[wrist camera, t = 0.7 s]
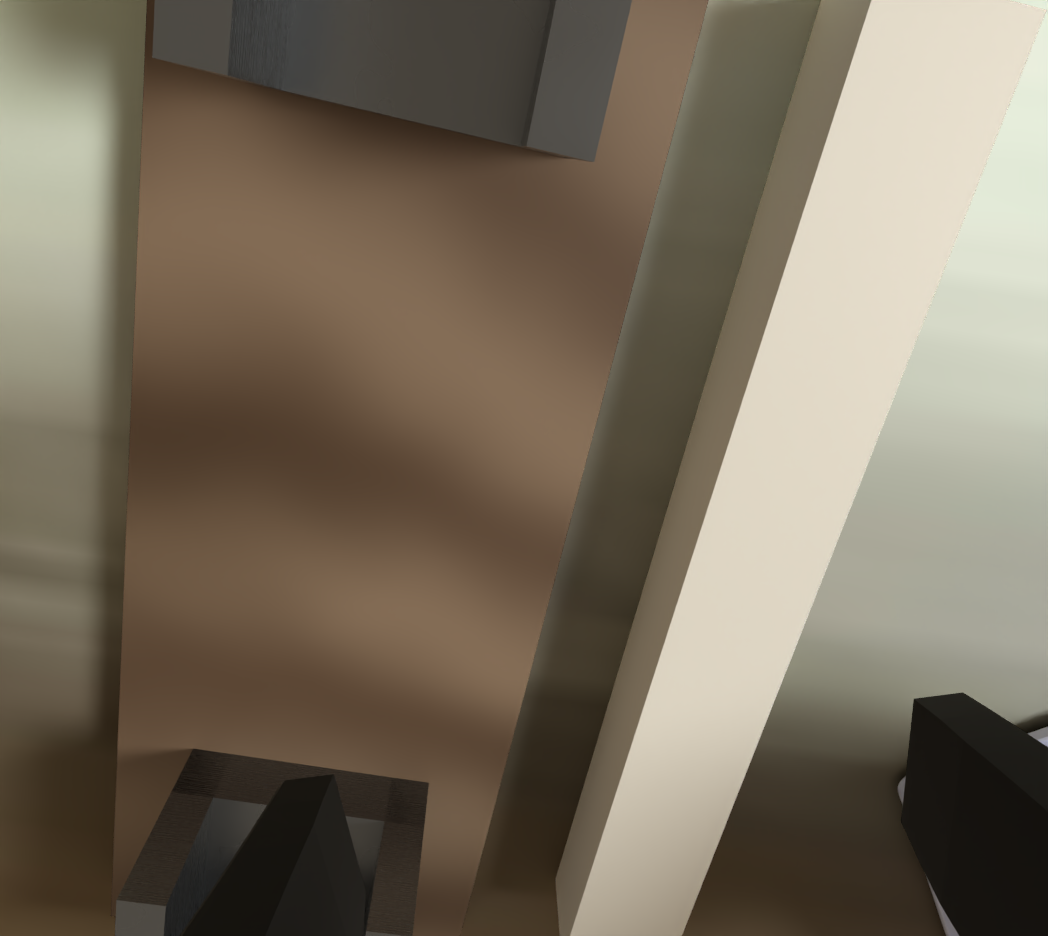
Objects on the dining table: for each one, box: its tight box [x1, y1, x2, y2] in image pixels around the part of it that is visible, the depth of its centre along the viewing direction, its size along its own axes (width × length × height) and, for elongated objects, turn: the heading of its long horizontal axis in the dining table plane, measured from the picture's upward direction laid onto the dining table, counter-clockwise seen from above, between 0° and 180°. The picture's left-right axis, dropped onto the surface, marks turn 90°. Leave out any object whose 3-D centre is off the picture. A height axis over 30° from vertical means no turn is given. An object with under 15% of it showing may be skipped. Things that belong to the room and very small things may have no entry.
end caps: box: [115, 0, 632, 936], centre depth 16 cm, size 28×6×4 cm, turn 168°
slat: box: [555, 0, 1047, 936], centre depth 19 cm, size 24×3×3 cm, turn 168°
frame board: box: [111, 0, 708, 936], centre depth 19 cm, size 29×10×1 cm, turn 168°
